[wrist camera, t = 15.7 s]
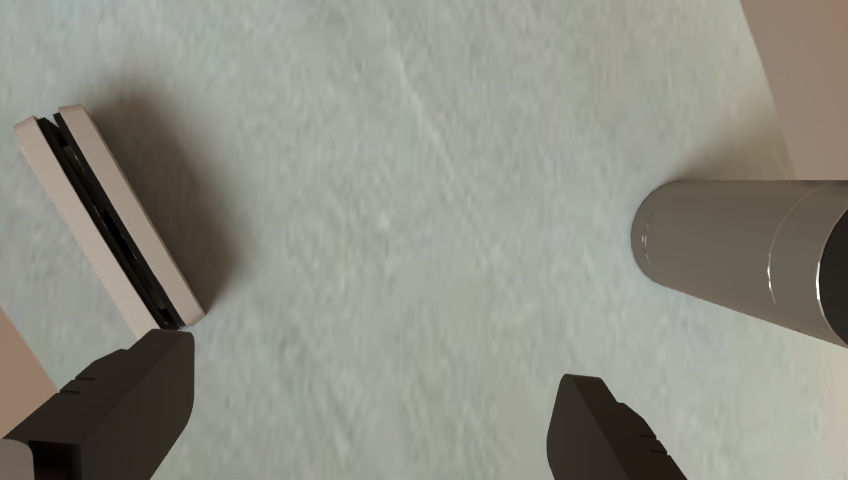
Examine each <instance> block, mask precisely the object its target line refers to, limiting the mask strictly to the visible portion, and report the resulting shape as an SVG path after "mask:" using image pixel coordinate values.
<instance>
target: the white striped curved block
mask: <svg viewBox="0 0 848 480" xmlns="http://www.w3.org/2000/svg"><path fill="white" fill-rule="evenodd" d="M58 109H59V111H60V112H59V113H56V114H53V116H54V119H55V121H56V122H57V124H58V126H59V128H60V129H59V128H58V127H57V126H55V125H54V124H53V123H51V122H50V121H49V120H47V119H46V118H45V117H44V118H41V119H38V118H36V117H35V116H31V117H30V118H28V119H26V120H24V121H22V122H20V123H18V124H17V125H15V126H14V127H13V128H14V131H15V133H16V135H17V137H18V139H19V141H20V143H21V144H20V145H19V148H20V149H21V151H22V152H23V154H24V156H25V157H26V159H27V161H28V162H29V164H30V165H31V167H32V169H33V170H34V172H35V174H36V175H37V177H38V178H39V180H40V182H41V183H42V185H43V187H44V188H45V190H46V192H47V193H48V195H49V196H50V198H51V200H52V201H53V203H54V205H55V206H56V208H57V209H58V211H59V213H60V214H61V216H62V218H63V219H64V221H65V223H66V224H67V226H68V227H69V229H70V231H71V232H72V234H73V236H74V237H75V239H76V240H77V242H78V244H79V245H80V247H81V249H82V250H83V252H84V253H85V255H86V257H87V258H88V260H89V262H90V263H91V265H92V267H93V268H94V270H95V271H96V273H97V275H98V276H99V278H100V280H101V281H102V283H103V284H104V286H105V288H106V289H107V291H108V293H109V294H110V296H111V298H112V299H113V301H114V302H115V304H116V306H117V307H118V309H119V311H120V312H121V314H122V315H123V317H124V319H125V320H126V322H127V324H128V325H129V327H130V328H131V330H132V332H133V333H134V335H135V337H136V338H137V340H139V339H141V338H142V337H143V336H144V335H145V334H146V333H147V332H148V331H150V330H151V329H154V328H156V329H165V330H174V331H176V330H178V329H179V328H178V326H186V325H187V326H193V325H194V324H196V323H197V322H198V321H199V320H201V319H202V318H203V317H204V316H205V315H206V314H205V312H204V311H203V309H202V307H201V305H200V304H199V302H198V300H197V299H196V297H195V295H194V293H193V292H192V290H191V288H190V287H189V285H188V283H187V281H186V280H185V278H184V276H183V275H182V273H181V271H180V269H179V268H178V266H177V264H176V262H175V261H174V259H173V257H172V256H171V254H170V252H169V250H168V249H167V247H166V245H165V244H164V242H163V240H162V238H161V237H160V235H159V233H158V232H157V230H156V228H155V226H154V225H153V223H152V221H151V219H150V218H149V216H148V214H147V213H146V211H145V209H144V207H143V206H142V204H141V202H140V201H139V199H138V197H137V195H136V194H135V192H134V190H133V188H132V187H131V185H130V183H129V182H128V180H127V178H126V176H125V175H124V173H123V171H122V170H121V168H120V166H119V164H118V163H117V161H116V159H115V158H114V156H113V154H112V152H111V151H110V149H109V147H108V145H107V144H106V142H105V140H104V139H103V137H102V135H101V133H100V132H99V130H98V128H97V127H96V125H95V123H94V121H93V120H92V118H91V117H90V115H89V114H88V113H87V111H86V110H85V109H84V107H83V106H82V105H75V106H66V107H58ZM105 210H107V211H108V213H109V215H110V216H111V218H112V220H113V222H114V223H115V225H116V227H117V228H118V230H119V232H120V233H121V235H122V237H123V238H124V240H125V242H126V243H127V245H128V246H129V248H130V250H131V251H132V253H133V255H134V256H135V258H132V257H129V256H127V255H126V254H125V253H124V251H123V249H122V248H121V246H120V244H119V243H118V241H117V239H116V238H115V236H114V234H113V233H112V231H111V229H110V228H109V226H108V224H107V223H106V221H105V219H104V212H105ZM163 308H167V310H166V309H164V310H161V309H163ZM170 314H171V315H170ZM172 317H173V318H172ZM173 319H174V320H173ZM175 322H176V323H177V325H178V326H177V325H176V323H175Z"/></svg>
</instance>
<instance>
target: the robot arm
mask: <svg viewBox="0 0 848 480" xmlns="http://www.w3.org/2000/svg"><path fill="white" fill-rule="evenodd" d="M631 246H632V250H633V254H634V258H635V260H636V262H637V264H638V266H639V268H640V269H641V270H642V271H643V273H644V274H645V275H646V276H647V277H649V278H650V279H651V280H652V281H654V282H656V283H658V284H660V285H662V286H665V287H668V288H671V289H674V290H677V291H680V292H683V293H685V294H688V295H691V296H694V297H697V298H699V299H702V300H705V301H708V302H711V303H714V304H717V305H720V306H723V307H726V308H729V309H732V310H735V311H738V312H741V313H744V314H747V315H750V316H753V317H756V318H759V319H762V320H764V321H767V322H770V323H773V324H776V325H779V326H782V327H785V328H788V329H791V330H794V331H797V332H800V333H803V334H806V335H809V336H812V337H815V338H818V339H821V340H824V341H827V342H830V343H833V344H836V345H839V346H842V347H845V348H848V180H830V181H829V180H824V181H823V180H821V181H820V180H816V181H815V180H812V181H811V180H809V181H808V180H780V181H721V180H705V181H677V182H672V183H669V184H666V185H664V186H662V187H660V188H658V189H657V190H656V191H654V192H653V193H652V194H650V196H649V197H648V198H647V199H646V200H645V201H644V202H643V203H642V205H641V207H640V208H639V210H638V212H637V214H636V217H635V219H634V222H633V226H632V232H631ZM194 351H195V344H194V337H193V335H192V333H190V332H183V331H174V330H165V329H156V328H154V329H151V330H150V331H148V332H147V333H146V334H145V335H144V336H143V337H142V338H141V339H139V340H138V341H137V342H136V343H135V344H134V345H133V346H132V347H131V348H129V349H128V350H125V349H119V350H117V351H115V352H113V353H111V354H109V355H106V356H104V357H102V358H100V359H98V360H95V361H94V362H93V363H91V364H90V365H89V366H88V367H87V368H85V369H84V370H83V371H82V372H81V373H79V374H78V375H77V376H76V378H75V380H71V381H70V382H69V383H68V384H66V385H65V386H64V387H63V388H62V389H60V392H59V393H56V394H55V395H53V396H52V397H51V398H50V399H49V400H47V401H46V402H45V403H44V404H43V405H41V406H40V407H39V408H38V409H37V410H35V411H34V412H33V413H32V414H31V415H30V416H28V417H27V418H26V419H25V420H24V421H22V422H21V423H20V424H19V425H18V426H16V427H15V428H14V429H13V430H12V431H10V432H9V433H8V434H7V435H6V436H4V437H3V438H2V439H0V480H150V479H151V477H152V476H153V474H154V473H155V471H156V470H157V468H158V467H159V465H160V464H161V462H162V461H163V459H164V458H165V457H166V455H167V454H168V452H169V451H170V449H171V448H172V446H173V445H174V443H175V442H176V440H177V439H178V437H179V436H180V434H181V433H182V431H183V430H184V428H185V427H186V425H187V423H188V421H189V418H190V415H191V412H192V408H193V403H194ZM547 457H548V462H549V466H550V468H551V471H552V474H553V476H554V479H555V480H687V478H686V477H685V476H684V474H683V473H682V472H681V470H680V469H679V467H678V466H677V465H676V463H675V462H674V460H673V459H672V458H671V456H670V455H667V451H666V449H665V448H664V446H663V445H662V444H661V442H660V441H659V440H657V439H656V435H655V434H654V433H653V431H652V430H651V428H650V427H649V426H648V424H647V423H646V421H645V420H644V419H643V418H642V417H641V416H639V415H638V414H637V413H636V412H634V411H633V410H632V409H631V408H629V407H628V406H627V405H626V404H624V403H619V402H617V401H616V399H615V398H614V396H613V395H612V393H611V392H610V390H609V389H608V387H607V386H606V385H605V383H604V382H603V380H602V379H601V378H599V377H591V376H582V375H572V374H565V375H564V376H563V377H562V379H561V381H560V384H559V388H558V392H557V397H556V401H555V405H554V409H553V413H552V417H551V422H550V426H549V430H548V435H547Z"/></svg>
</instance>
